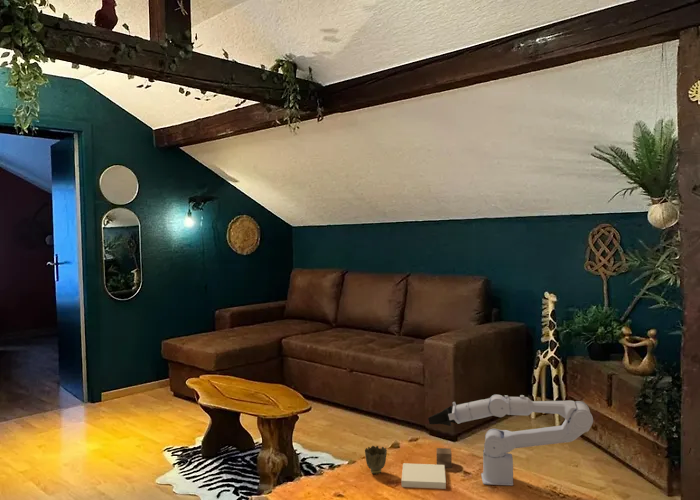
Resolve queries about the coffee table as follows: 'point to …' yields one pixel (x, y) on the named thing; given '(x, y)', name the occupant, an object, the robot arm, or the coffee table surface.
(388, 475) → the coffee table surface
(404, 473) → the base board
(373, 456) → the cup
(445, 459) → the walnut block
